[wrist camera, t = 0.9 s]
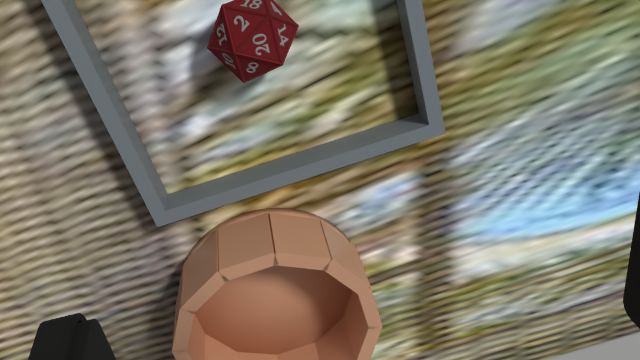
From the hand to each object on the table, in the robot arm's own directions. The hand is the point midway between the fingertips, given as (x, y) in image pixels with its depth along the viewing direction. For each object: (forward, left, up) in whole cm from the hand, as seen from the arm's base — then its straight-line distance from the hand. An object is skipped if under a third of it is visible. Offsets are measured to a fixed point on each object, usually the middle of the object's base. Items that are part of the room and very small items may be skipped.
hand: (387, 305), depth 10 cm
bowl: (+5, +16, -22) cm, 28 cm away
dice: (+1, 0, -22) cm, 22 cm away
